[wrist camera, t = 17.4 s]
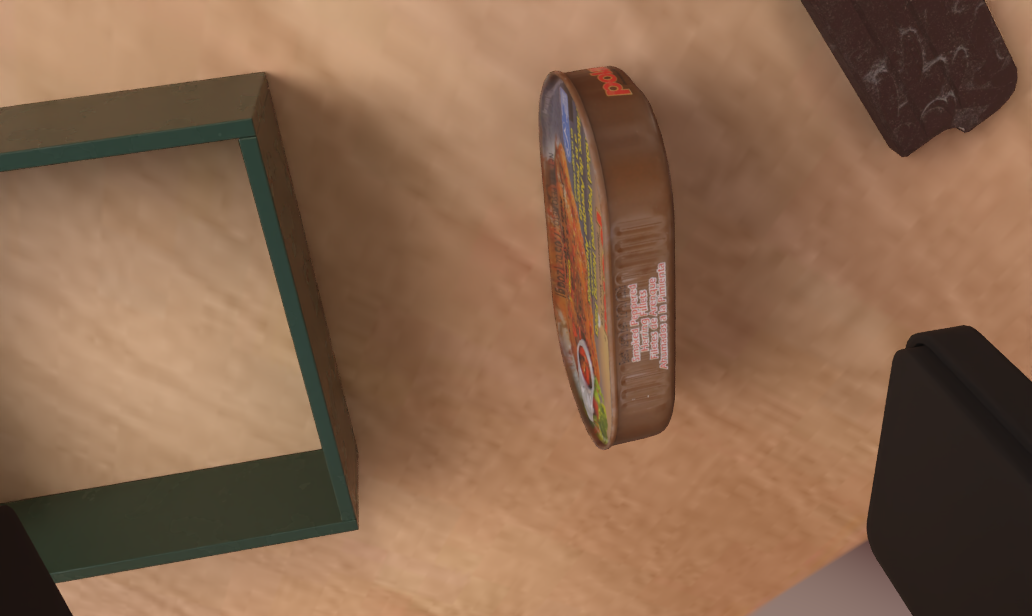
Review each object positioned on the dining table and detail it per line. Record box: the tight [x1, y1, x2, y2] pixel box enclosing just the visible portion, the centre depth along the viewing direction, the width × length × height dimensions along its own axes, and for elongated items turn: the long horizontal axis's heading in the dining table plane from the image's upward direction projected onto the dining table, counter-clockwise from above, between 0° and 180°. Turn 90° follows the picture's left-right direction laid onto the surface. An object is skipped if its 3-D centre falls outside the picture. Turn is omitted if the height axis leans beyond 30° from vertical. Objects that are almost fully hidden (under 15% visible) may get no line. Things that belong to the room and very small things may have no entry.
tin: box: [539, 66, 676, 450], centre depth 34 cm, size 15×3×8 cm, turn 5°
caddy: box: [0, 72, 359, 583], centre depth 35 cm, size 18×18×5 cm
